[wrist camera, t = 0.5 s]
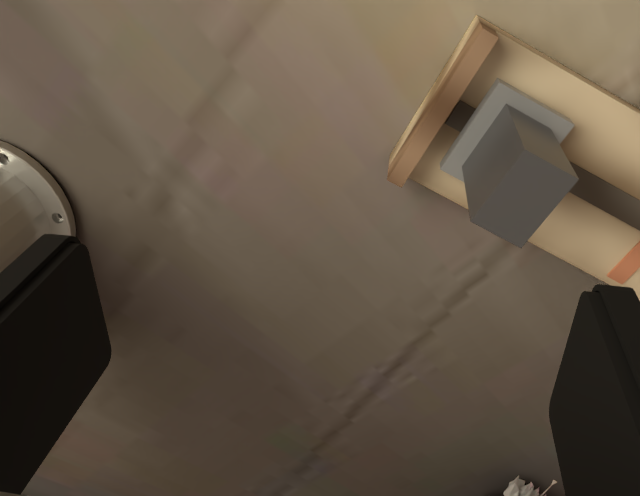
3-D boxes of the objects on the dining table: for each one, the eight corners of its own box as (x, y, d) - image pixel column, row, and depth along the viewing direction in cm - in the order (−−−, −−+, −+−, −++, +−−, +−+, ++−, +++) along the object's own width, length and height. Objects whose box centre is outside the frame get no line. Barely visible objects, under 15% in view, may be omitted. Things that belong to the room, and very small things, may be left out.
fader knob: (508, 200, 37) (527, 268, 31) (439, 163, 37) (444, 224, 30) (571, 119, 34) (608, 175, 28) (497, 77, 34) (517, 124, 27)
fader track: (659, 299, 42) (680, 335, 39) (389, 155, 40) (387, 179, 36) (776, 189, 37) (812, 218, 34) (476, 14, 35) (482, 28, 31)
